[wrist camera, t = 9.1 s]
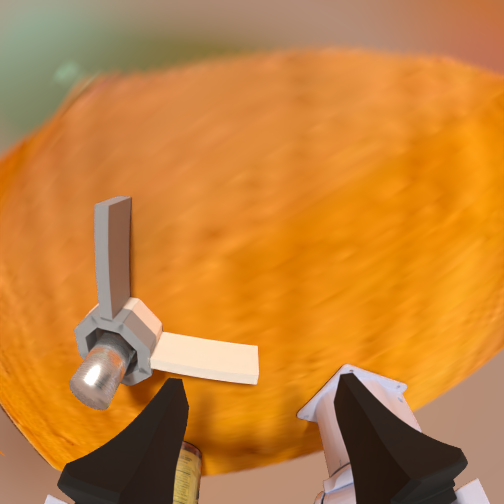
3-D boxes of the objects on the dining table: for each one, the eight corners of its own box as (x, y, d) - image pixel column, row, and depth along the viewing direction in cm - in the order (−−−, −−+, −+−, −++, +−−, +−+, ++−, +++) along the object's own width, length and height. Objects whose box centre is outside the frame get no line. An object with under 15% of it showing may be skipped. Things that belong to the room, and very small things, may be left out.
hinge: (99, 348, 22) (84, 372, 19) (88, 193, 18) (61, 201, 14) (250, 377, 23) (250, 406, 20) (283, 217, 19) (290, 230, 15)
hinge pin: (147, 324, 21) (111, 393, 14) (139, 349, 22) (107, 416, 15) (115, 308, 21) (69, 370, 13) (109, 334, 22) (69, 395, 14)
